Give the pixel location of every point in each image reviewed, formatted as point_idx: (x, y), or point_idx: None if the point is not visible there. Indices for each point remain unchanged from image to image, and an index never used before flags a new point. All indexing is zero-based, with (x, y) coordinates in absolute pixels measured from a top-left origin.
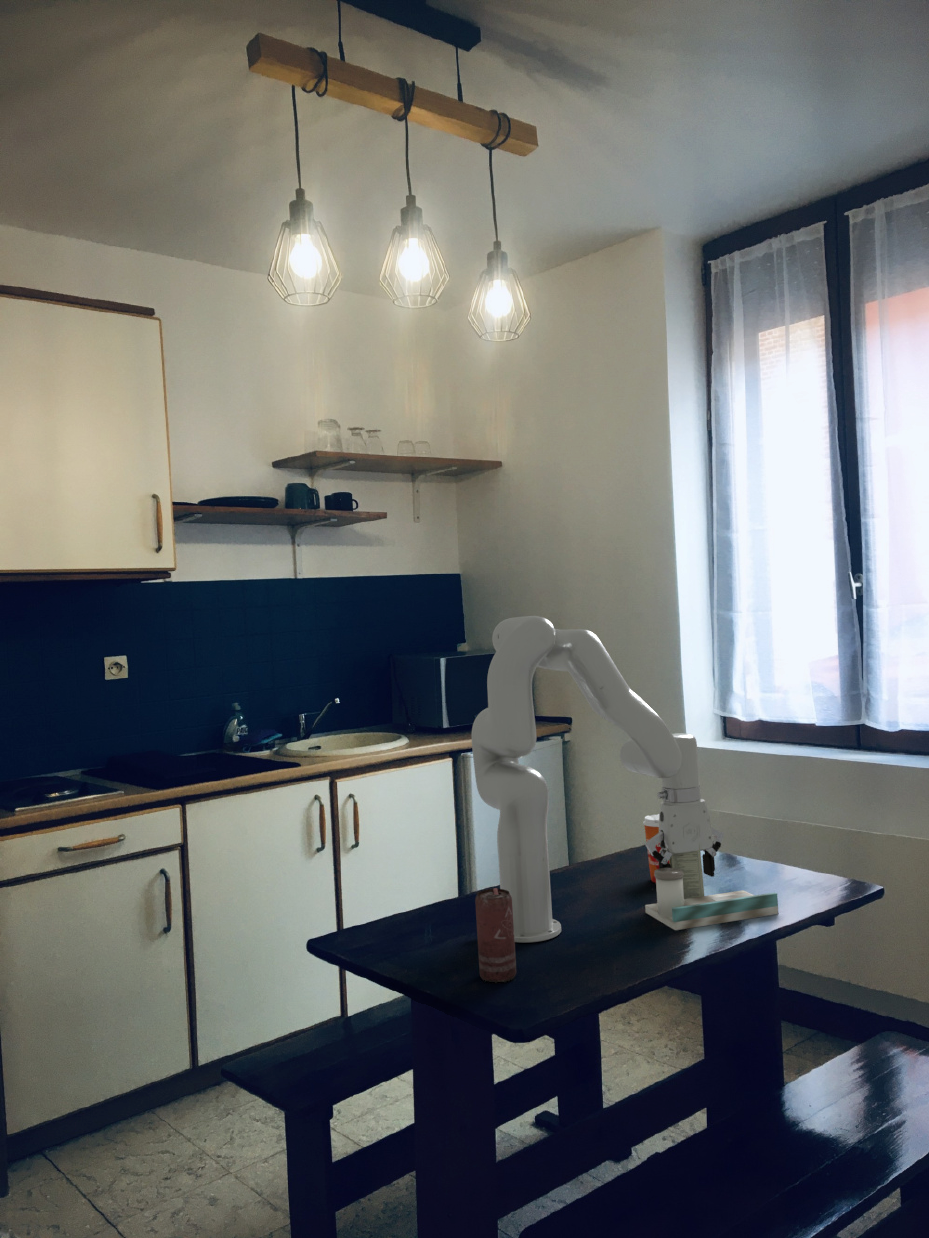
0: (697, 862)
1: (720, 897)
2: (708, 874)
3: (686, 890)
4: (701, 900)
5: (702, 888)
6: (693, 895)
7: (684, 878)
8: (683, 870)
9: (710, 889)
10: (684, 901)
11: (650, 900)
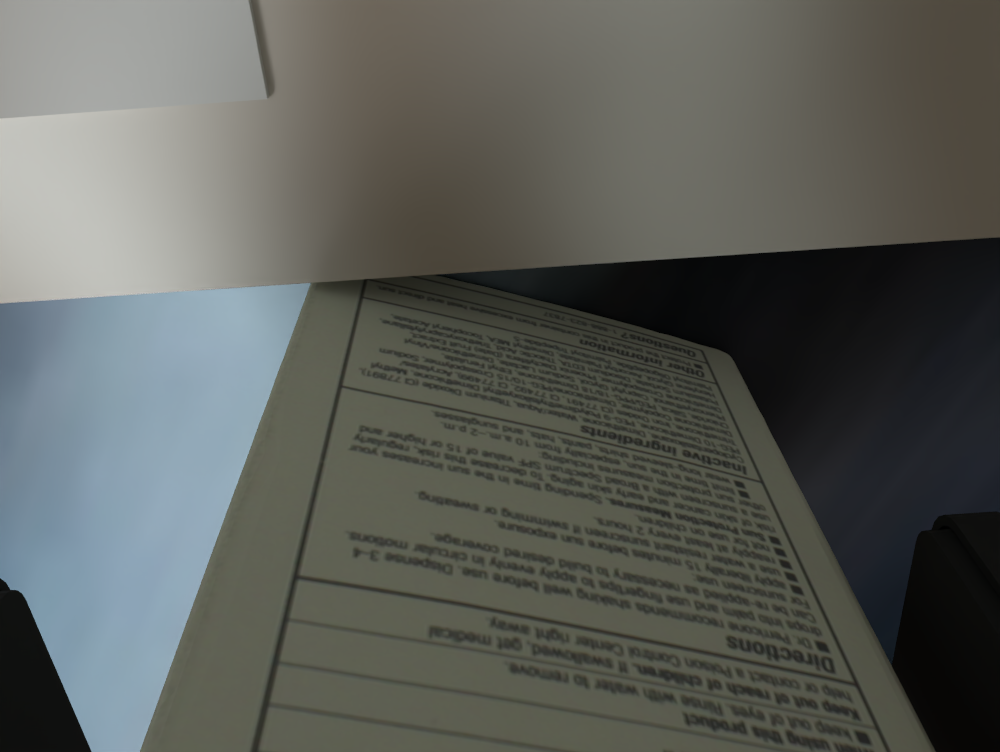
0: None
1: (71, 80)
2: (40, 663)
3: (593, 408)
4: (458, 72)
5: (310, 354)
6: (482, 338)
7: (646, 551)
8: (683, 698)
9: (70, 688)
10: (758, 135)
11: (899, 590)
